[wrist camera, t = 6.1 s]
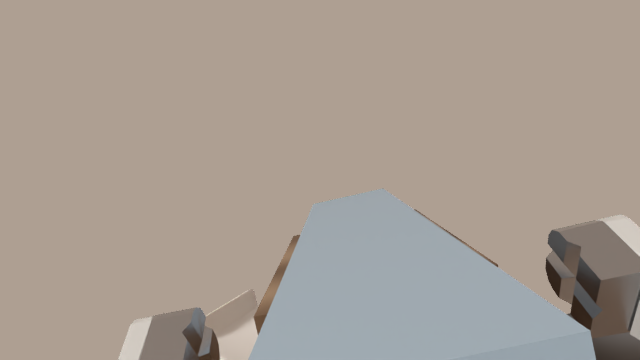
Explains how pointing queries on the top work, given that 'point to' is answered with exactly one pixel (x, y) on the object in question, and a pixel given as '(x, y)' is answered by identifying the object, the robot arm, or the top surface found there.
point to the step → (616, 347)
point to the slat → (404, 295)
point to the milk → (235, 326)
